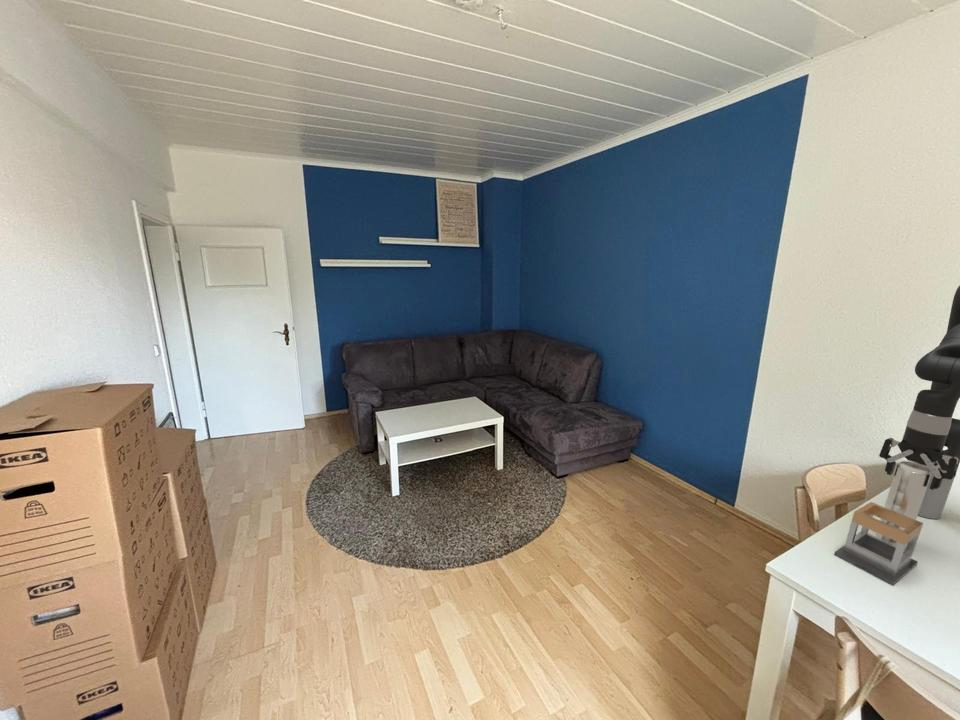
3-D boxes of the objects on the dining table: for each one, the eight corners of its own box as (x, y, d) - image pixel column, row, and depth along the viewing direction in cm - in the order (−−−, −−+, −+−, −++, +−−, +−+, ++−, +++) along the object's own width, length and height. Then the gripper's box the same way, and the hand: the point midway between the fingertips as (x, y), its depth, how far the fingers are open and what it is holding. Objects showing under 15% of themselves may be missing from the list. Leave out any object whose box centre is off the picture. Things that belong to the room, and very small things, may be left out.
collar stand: (859, 537, 116) (871, 497, 112) (916, 564, 105) (931, 521, 102) (834, 554, 109) (845, 512, 105) (892, 585, 98) (908, 540, 95)
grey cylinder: (913, 551, 110) (939, 472, 104) (886, 547, 112) (911, 470, 106) (894, 536, 117) (918, 461, 111) (869, 533, 118) (892, 458, 112)
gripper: (972, 435, 101) (952, 491, 105) (896, 416, 113) (881, 466, 117) (962, 441, 98) (943, 497, 101) (886, 421, 110) (870, 472, 114)
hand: (910, 481), depth 109 cm, fingers open, 8 cm apart
